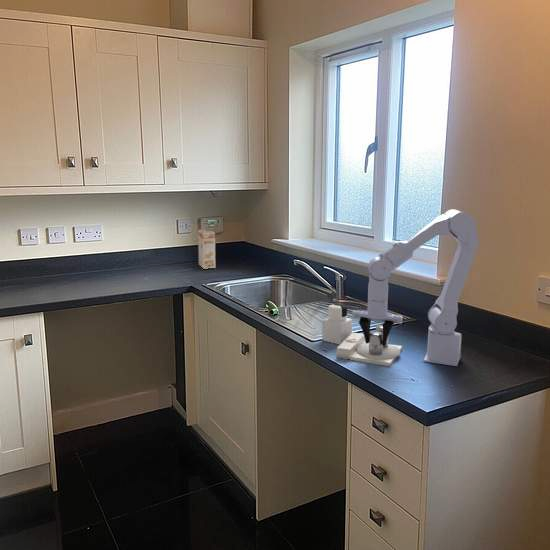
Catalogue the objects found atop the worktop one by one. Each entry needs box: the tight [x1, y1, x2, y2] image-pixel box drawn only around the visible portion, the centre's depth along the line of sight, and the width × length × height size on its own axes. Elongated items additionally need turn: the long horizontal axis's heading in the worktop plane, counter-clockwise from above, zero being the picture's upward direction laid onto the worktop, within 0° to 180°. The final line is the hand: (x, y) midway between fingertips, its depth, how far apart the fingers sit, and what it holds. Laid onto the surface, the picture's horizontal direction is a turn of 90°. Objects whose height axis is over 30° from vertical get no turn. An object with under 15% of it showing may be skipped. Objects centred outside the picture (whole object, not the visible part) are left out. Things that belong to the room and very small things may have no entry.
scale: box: [336, 332, 403, 367], centre depth 170 cm, size 17×16×4 cm
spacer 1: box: [369, 331, 383, 356], centre depth 166 cm, size 4×4×6 cm
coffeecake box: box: [197, 228, 217, 270], centre depth 298 cm, size 15×7×20 cm, turn 16°
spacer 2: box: [375, 324, 390, 348], centre depth 172 cm, size 4×4×6 cm
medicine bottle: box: [321, 303, 353, 346], centre depth 182 cm, size 7×7×12 cm
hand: (375, 343), depth 166 cm, fingers open, 4 cm apart
